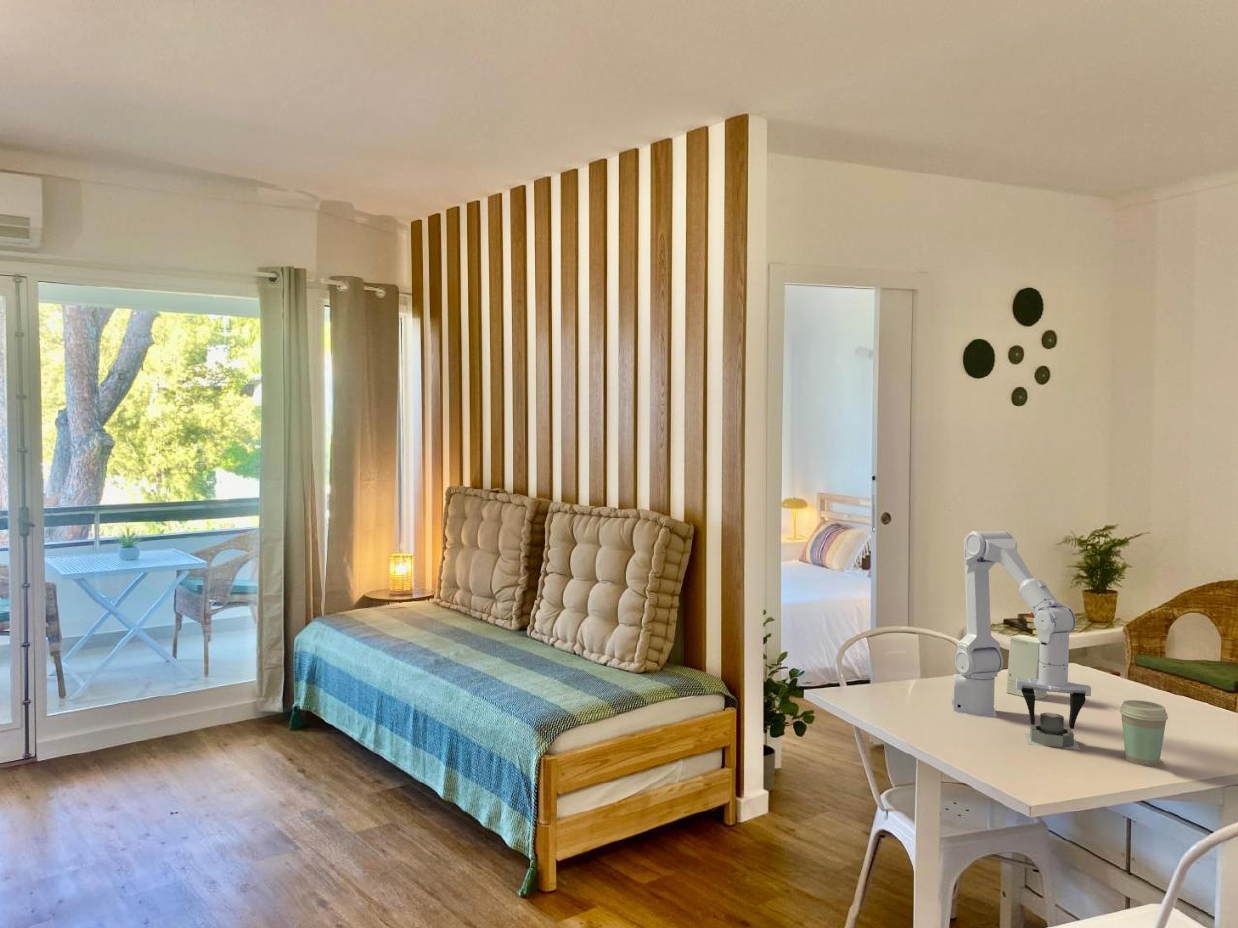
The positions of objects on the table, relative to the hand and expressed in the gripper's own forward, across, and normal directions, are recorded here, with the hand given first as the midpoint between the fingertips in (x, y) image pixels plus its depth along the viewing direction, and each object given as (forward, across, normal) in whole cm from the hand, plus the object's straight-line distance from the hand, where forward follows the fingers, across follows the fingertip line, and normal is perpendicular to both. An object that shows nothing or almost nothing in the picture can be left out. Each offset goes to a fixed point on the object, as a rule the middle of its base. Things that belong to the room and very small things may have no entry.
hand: (1051, 725), depth 200 cm
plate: (+4, 0, 0) cm, 4 cm away
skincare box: (+4, -1, +41) cm, 41 cm away
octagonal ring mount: (+3, 0, 0) cm, 3 cm away
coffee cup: (+4, +16, -7) cm, 18 cm away
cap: (+3, 0, 0) cm, 3 cm away
